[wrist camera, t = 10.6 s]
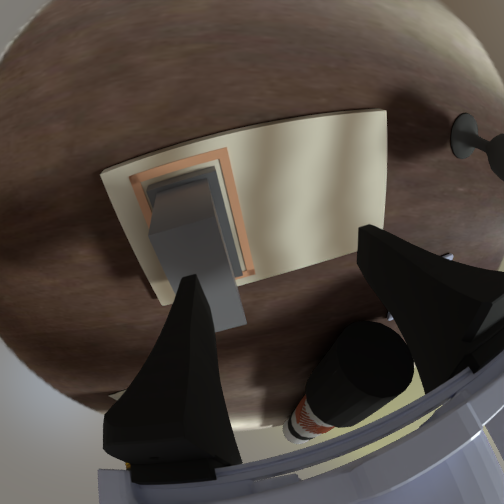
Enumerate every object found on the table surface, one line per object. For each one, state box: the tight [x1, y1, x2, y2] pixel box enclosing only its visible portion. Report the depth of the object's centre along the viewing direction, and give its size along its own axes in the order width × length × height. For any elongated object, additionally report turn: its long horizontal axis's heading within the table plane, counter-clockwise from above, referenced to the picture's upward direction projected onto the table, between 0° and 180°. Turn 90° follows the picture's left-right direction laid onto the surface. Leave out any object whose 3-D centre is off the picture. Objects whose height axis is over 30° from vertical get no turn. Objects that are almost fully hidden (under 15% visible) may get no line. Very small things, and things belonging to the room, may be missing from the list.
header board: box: [100, 108, 387, 306], centre depth 19 cm, size 20×12×5 cm, turn 100°
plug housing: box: [148, 178, 247, 332], centre depth 17 cm, size 3×8×5 cm, turn 10°
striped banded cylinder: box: [283, 320, 414, 444], centre depth 38 cm, size 10×34×10 cm, turn 171°
